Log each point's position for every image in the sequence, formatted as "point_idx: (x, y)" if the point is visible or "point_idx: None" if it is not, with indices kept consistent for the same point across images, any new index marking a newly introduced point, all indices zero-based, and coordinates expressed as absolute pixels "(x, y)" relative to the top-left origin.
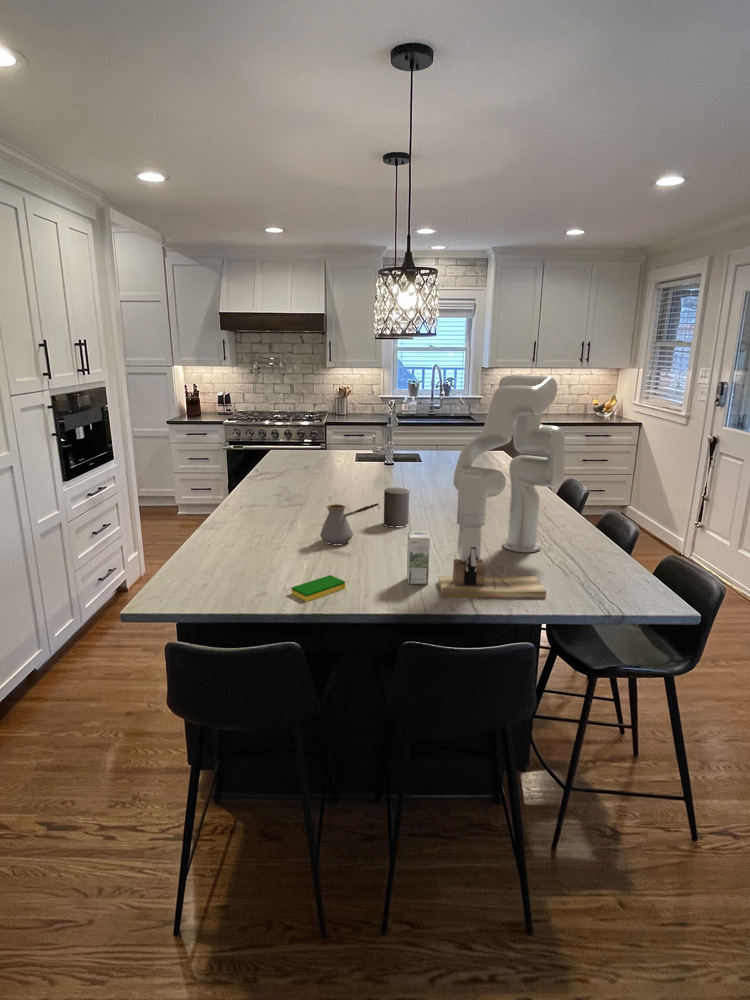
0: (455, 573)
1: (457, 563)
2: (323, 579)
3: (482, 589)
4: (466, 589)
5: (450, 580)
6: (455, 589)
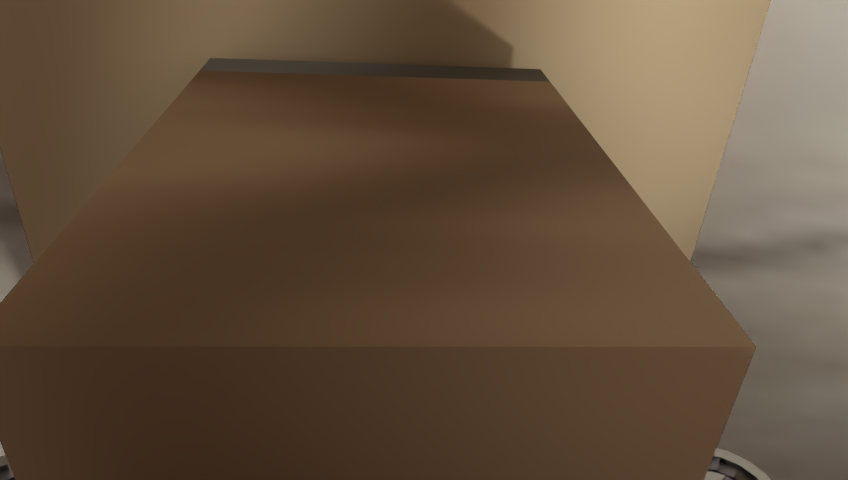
0: (172, 157)
1: (197, 419)
2: None
3: None
4: None
5: (542, 11)
6: (64, 30)
